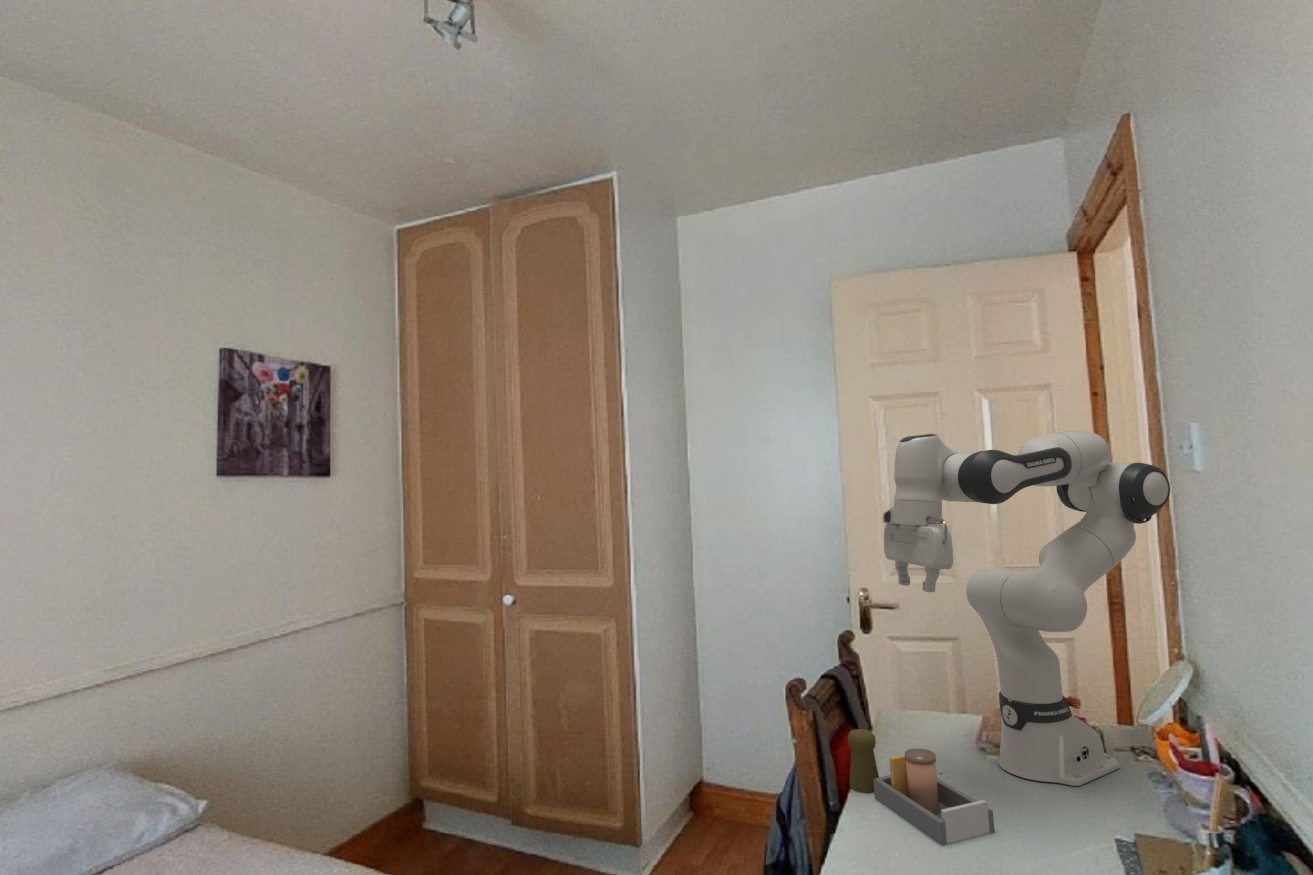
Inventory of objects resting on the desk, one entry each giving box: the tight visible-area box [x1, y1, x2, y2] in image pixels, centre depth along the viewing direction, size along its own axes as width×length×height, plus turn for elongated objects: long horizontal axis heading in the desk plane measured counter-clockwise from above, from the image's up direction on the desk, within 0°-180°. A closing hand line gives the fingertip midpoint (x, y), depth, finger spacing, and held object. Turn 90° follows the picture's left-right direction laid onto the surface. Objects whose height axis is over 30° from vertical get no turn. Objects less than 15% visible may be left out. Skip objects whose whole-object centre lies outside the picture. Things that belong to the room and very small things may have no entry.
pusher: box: [888, 753, 909, 798], centre depth 126 cm, size 8×1×8 cm, turn 107°
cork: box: [847, 728, 880, 794], centre depth 133 cm, size 6×6×11 cm
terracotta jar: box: [904, 748, 940, 815], centre depth 123 cm, size 5×5×10 cm
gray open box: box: [874, 774, 995, 846], centre depth 121 cm, size 10×18×6 cm, turn 17°
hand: (916, 588), depth 133 cm, fingers open, 8 cm apart
